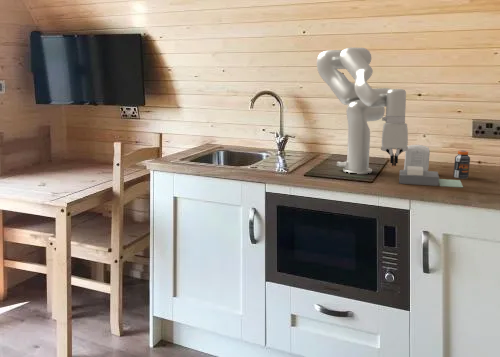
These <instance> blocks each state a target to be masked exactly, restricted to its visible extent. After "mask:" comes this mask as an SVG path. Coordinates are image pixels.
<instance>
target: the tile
mask: <svg viewBox="0 0 500 357" xmlns="http://www.w3.org/2000/svg"><path fill="white" fill-rule="evenodd" d="M407 175H422V176H423V167H416V166H407Z"/></svg>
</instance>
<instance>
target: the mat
mask: <svg viewBox="0 0 500 357" xmlns="http://www.w3.org/2000/svg"><path fill="white" fill-rule="evenodd" d="M438 186H439V187H445V188H446V187H448V188H449V187H450V188H464V186H463V183H462V182H461V179H445V178H444V179H443V178H439V185H438Z"/></svg>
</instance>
